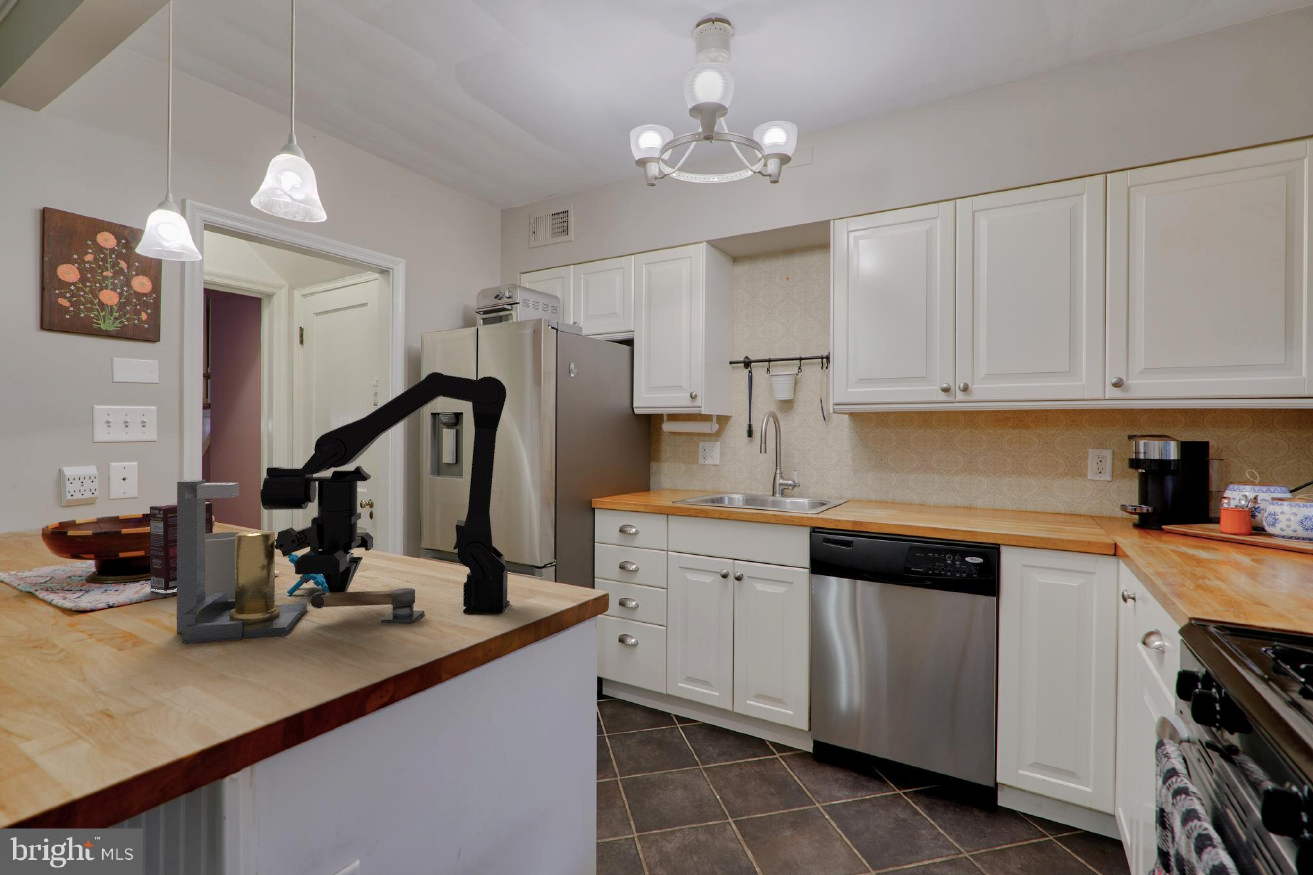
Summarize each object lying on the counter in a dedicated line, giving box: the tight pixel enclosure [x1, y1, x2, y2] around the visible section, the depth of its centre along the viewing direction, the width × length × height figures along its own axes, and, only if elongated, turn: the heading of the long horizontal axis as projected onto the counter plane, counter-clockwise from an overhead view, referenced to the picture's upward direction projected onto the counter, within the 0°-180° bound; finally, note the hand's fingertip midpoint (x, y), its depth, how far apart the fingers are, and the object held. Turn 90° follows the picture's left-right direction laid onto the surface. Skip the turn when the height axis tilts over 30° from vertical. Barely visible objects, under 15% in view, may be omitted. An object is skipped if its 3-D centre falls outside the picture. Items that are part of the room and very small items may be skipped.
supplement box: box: [149, 501, 214, 591], centre depth 116 cm, size 9×5×16 cm, turn 157°
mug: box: [205, 531, 243, 600], centre depth 113 cm, size 12×8×11 cm
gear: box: [286, 553, 330, 596], centre depth 115 cm, size 11×6×10 cm
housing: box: [229, 530, 280, 624], centre depth 96 cm, size 7×7×13 cm
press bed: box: [176, 479, 308, 644], centre depth 96 cm, size 16×14×22 cm
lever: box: [309, 587, 416, 609], centre depth 100 cm, size 16×4×3 cm, turn 101°
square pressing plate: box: [380, 603, 425, 625], centre depth 101 cm, size 5×5×2 cm
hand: (337, 604), depth 101 cm, fingers closed
